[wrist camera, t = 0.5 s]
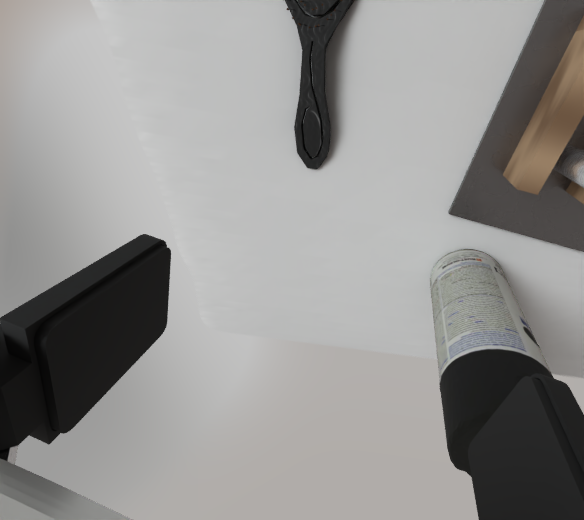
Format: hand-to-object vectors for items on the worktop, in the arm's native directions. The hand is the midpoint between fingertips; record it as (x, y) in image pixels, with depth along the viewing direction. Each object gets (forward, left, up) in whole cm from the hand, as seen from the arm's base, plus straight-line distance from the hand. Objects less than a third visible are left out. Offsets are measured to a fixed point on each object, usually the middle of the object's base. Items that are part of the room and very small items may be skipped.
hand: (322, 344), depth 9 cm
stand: (-5, +14, -27) cm, 31 cm away
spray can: (+10, +12, -28) cm, 31 cm away
